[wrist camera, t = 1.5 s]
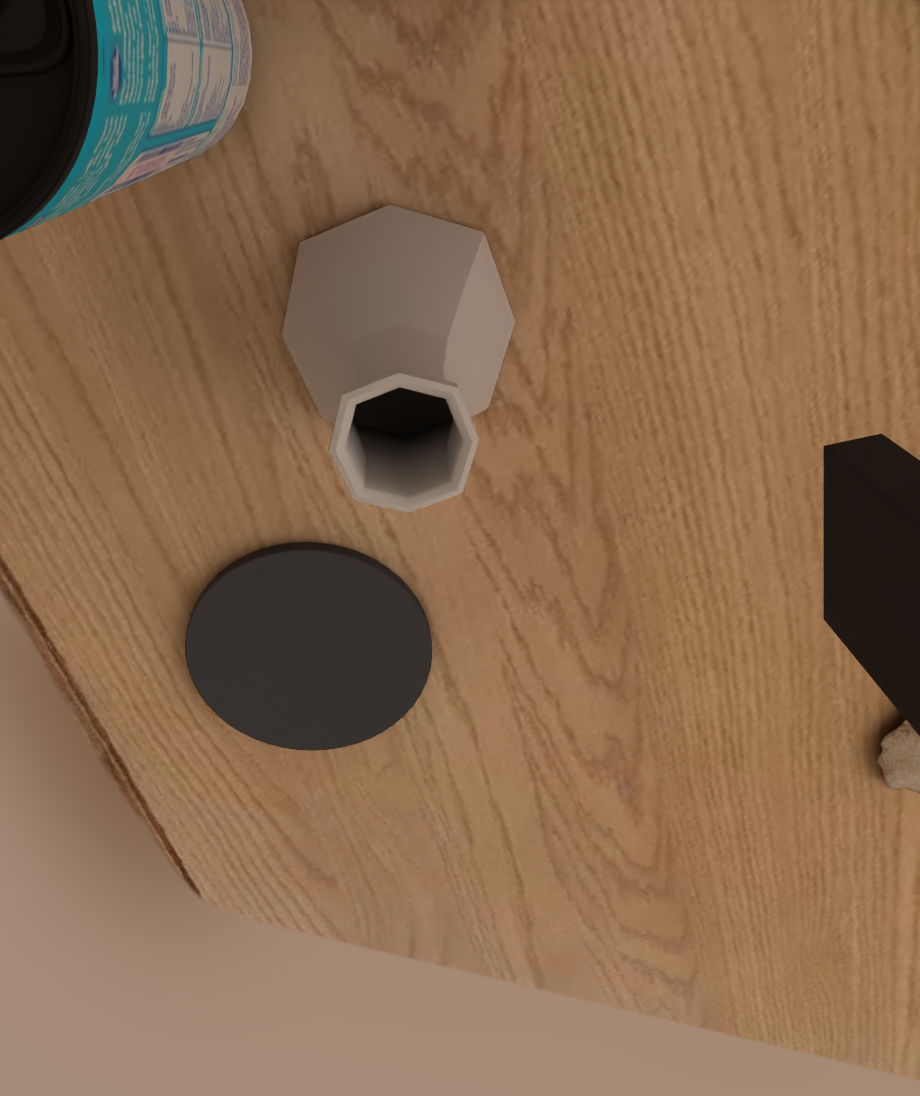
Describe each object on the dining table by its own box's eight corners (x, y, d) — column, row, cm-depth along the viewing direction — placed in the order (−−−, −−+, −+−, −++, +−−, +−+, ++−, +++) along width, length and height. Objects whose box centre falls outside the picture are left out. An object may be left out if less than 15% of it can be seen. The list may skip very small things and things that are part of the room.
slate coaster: (151, 571, 31) (147, 580, 30) (400, 517, 31) (400, 525, 30) (234, 760, 35) (231, 771, 35) (453, 715, 35) (454, 724, 34)
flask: (515, 428, 29) (570, 580, 21) (297, 442, 29) (258, 603, 20) (512, 196, 26) (576, 260, 17) (265, 209, 26) (201, 281, 17)
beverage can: (0, -95, 22) (-598, -352, 9) (242, -95, 22) (24, -342, 9) (54, 165, 25) (-333, 272, 11) (268, 162, 25) (132, 262, 12)
